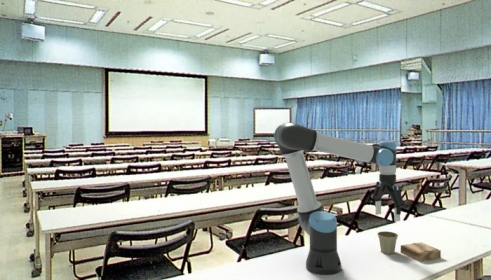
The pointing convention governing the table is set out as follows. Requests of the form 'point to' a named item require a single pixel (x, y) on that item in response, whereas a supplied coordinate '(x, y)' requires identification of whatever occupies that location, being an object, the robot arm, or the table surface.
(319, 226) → the robot arm
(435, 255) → the plinth
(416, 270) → the table surface
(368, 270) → the table surface
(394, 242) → the flower pot
